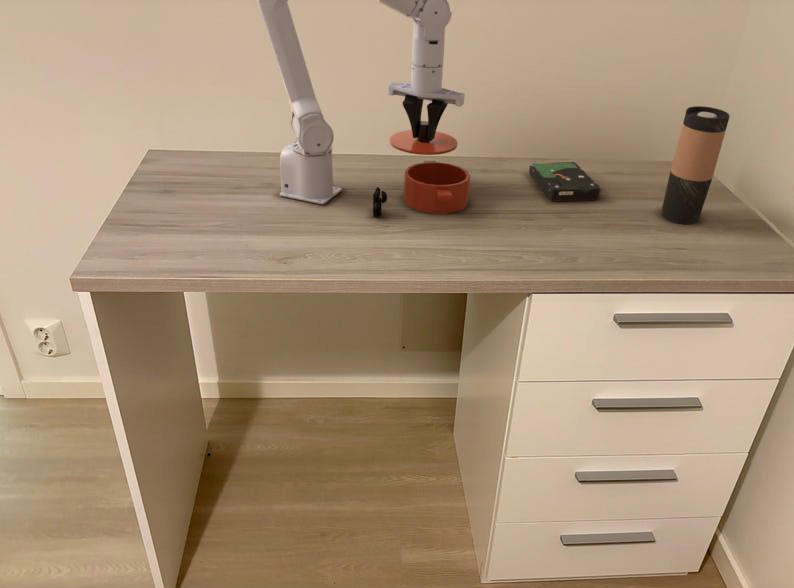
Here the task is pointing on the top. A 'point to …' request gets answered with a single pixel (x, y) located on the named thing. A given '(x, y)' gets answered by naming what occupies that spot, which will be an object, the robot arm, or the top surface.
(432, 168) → the pan
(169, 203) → the top surface
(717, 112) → the travel mug
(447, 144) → the lid
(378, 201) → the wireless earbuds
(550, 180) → the disk drive
